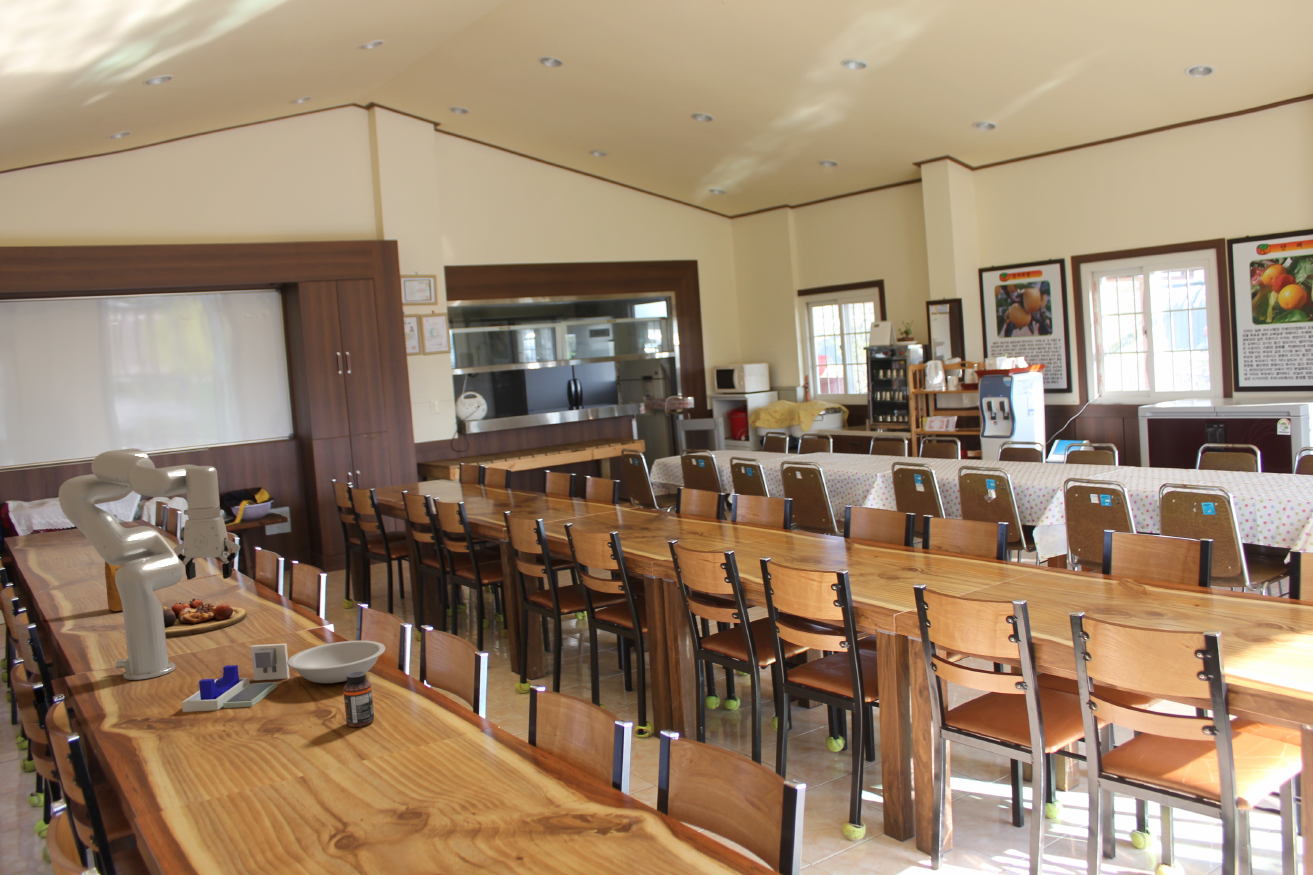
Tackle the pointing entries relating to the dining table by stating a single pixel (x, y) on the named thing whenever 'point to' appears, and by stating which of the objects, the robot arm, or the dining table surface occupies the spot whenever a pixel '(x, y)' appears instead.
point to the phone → (250, 695)
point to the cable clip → (219, 683)
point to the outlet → (270, 661)
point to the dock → (215, 704)
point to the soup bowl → (336, 660)
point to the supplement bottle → (358, 700)
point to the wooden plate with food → (199, 617)
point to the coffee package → (112, 588)
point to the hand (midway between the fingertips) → (209, 577)
